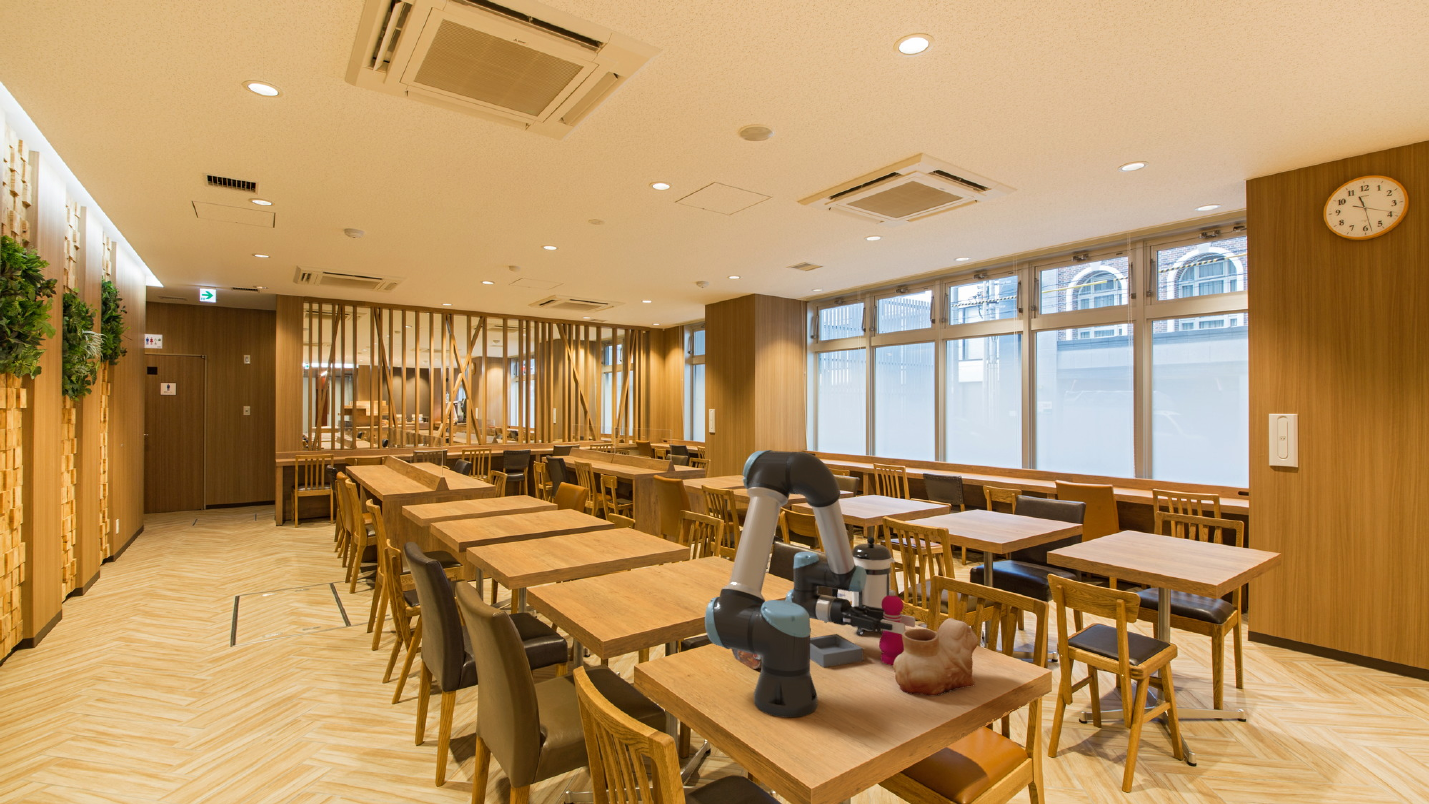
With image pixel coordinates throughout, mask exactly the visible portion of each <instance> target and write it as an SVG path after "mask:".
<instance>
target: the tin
mask: <svg viewBox="0 0 1429 804" xmlns="http://www.w3.org/2000/svg"><path fill="white" fill-rule="evenodd" d="M731 651H732V654H733V657H734V658H735V659H736V660H737V662H740V663H742V664H744V665H746V666H747V667H748V666H749V667H748V668H751V670H756V669H761V668H762V659H761V656H760V655H756V654H751V653H747V652H742V651H738V650H734V649H731Z"/></svg>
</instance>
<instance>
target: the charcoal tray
mask: <svg viewBox="0 0 1429 804" xmlns="http://www.w3.org/2000/svg"><path fill="white" fill-rule="evenodd" d="M863 655H864V649H863V647H862V646H860V645H858V644H856V643H854V642H852V641H850V640H849V639H847V638H845V637H843V636H842V635H840V634H837V633H833V634H827V635H826V634H825V635H820V636H815V637H814V636H813V637H810V661H813V662H814V663H816V664H817V665H818V666H820V667H822V668H823V667H824V668H828V666H830V667H835V666H840V665H847V664H852V663H858V662H863V660H864V658H863V657H864V656H863Z"/></svg>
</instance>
